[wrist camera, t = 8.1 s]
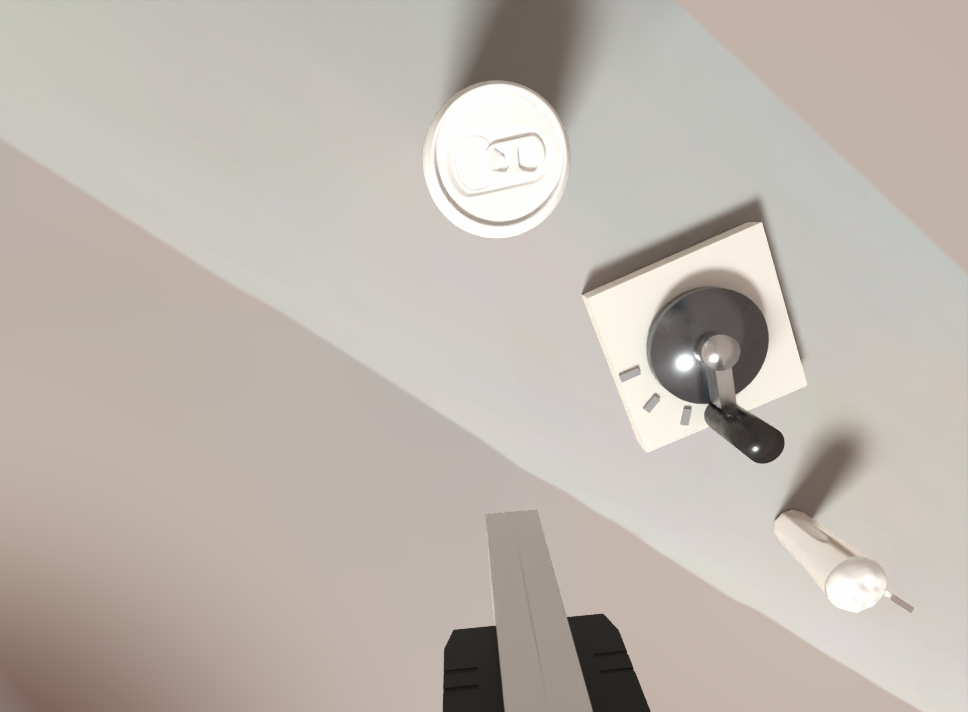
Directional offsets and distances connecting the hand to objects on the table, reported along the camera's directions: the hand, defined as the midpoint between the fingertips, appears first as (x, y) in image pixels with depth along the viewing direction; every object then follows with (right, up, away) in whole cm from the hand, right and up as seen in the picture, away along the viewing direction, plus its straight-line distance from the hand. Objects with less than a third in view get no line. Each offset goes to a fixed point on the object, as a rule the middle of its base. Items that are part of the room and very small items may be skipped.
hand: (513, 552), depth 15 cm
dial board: (+16, +7, +27) cm, 32 cm away
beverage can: (-1, +19, +23) cm, 30 cm away
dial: (+17, +6, +25) cm, 31 cm away
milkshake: (+28, -10, +32) cm, 44 cm away
